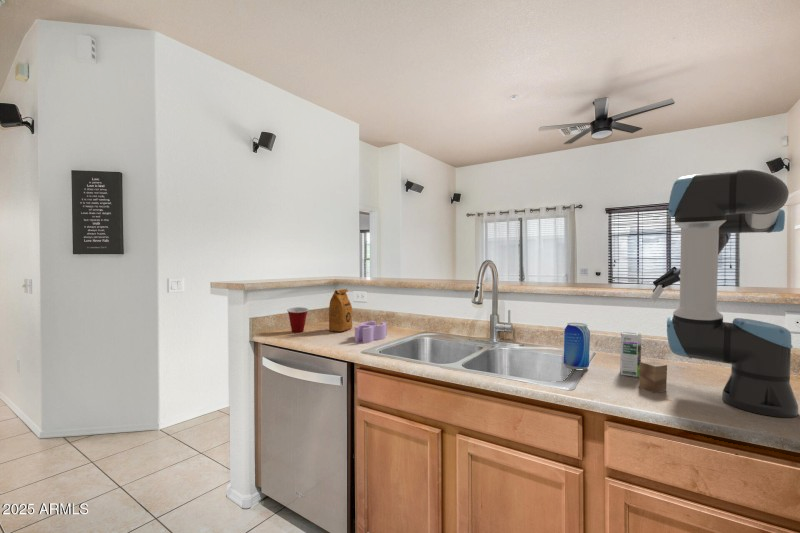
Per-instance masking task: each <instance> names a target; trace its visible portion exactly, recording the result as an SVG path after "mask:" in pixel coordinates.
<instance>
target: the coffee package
mask: <svg viewBox="0 0 800 533" xmlns="http://www.w3.org/2000/svg"><path fill="white" fill-rule="evenodd" d="M348 292H349V290H348V288H343V289H335V290H334V291H333V294H332V296H331V297H330V301H329V307H328V331H329V332H338V333H339V332H345V331H350V330H351V329H353V306H352V303H351V301H350V299H349V298H348V294H347V293H348Z"/></svg>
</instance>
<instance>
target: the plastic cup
mask: <svg viewBox="0 0 800 533" xmlns="http://www.w3.org/2000/svg"><path fill="white" fill-rule="evenodd" d="M286 311H287V314H288V317H289V325H290V328H291V329H290V330H291V333H294V334H295V333H296V334H298V333H304V329H305V325H306V320H307V315H308V311H309V308H307V307H301V306H300V307H297V306H296V307H290V308H288V309H286Z"/></svg>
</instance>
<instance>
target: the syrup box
mask: <svg viewBox="0 0 800 533" xmlns="http://www.w3.org/2000/svg"><path fill="white" fill-rule="evenodd" d="M640 362H642V335H641V333H640V332H632V331H623V330H622V331H621V332H620V364H619V365H620V375H621V376H628V377H635V378H639V374H640Z"/></svg>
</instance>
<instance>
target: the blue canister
mask: <svg viewBox="0 0 800 533" xmlns="http://www.w3.org/2000/svg"><path fill="white" fill-rule="evenodd" d="M590 338H591V331H590V329H589V327H588V324H586V323H583V322H581V323H580V322H567V324H566V326H565V327H564V339H563V364H564V365H565V368H567V369H570V370H574V369H583V370H582V371H586V370H587V369H588V368H589V367H590V342H591V339H590Z"/></svg>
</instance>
